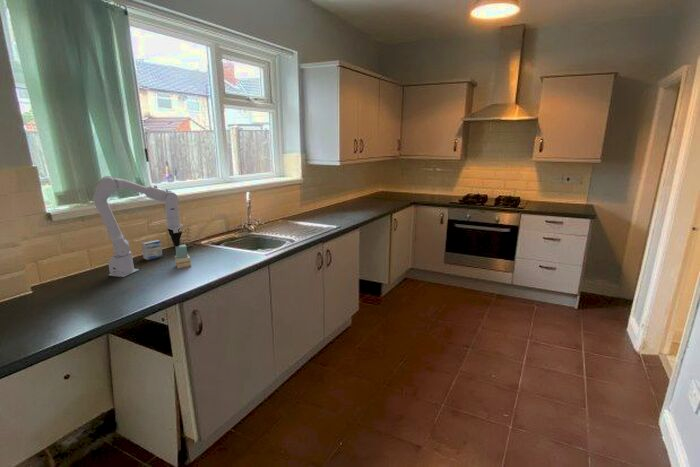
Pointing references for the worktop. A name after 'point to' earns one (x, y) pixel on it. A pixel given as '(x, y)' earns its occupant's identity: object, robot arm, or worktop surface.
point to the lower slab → (183, 265)
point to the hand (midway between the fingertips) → (176, 244)
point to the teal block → (181, 251)
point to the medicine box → (152, 249)
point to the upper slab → (182, 260)
